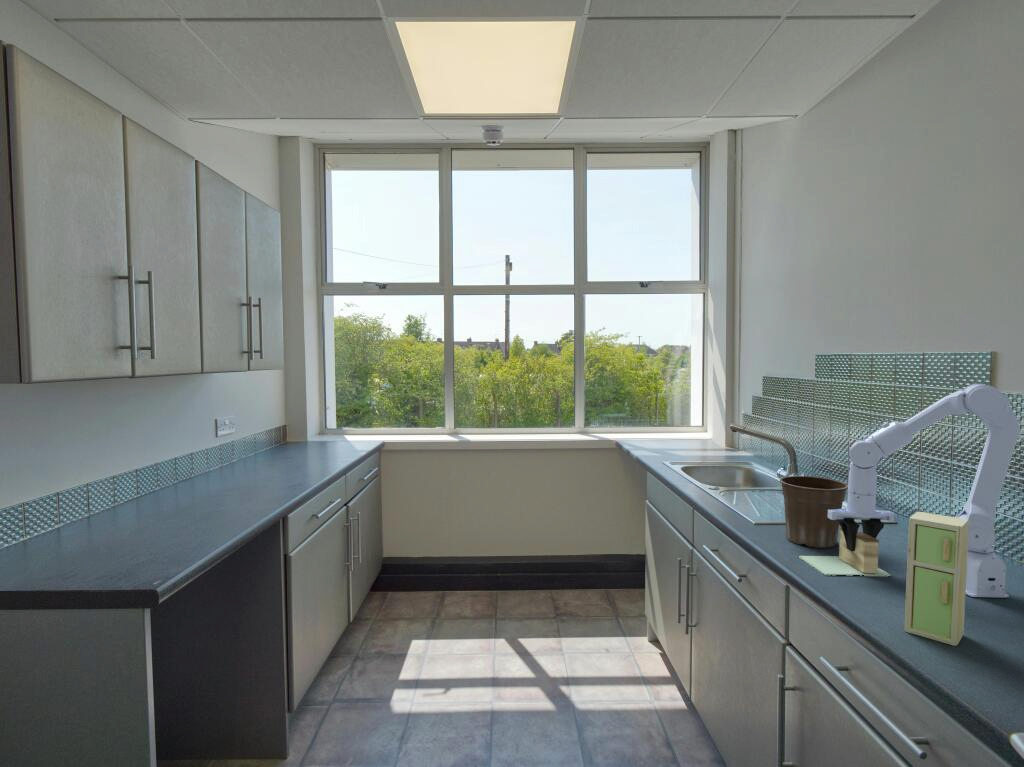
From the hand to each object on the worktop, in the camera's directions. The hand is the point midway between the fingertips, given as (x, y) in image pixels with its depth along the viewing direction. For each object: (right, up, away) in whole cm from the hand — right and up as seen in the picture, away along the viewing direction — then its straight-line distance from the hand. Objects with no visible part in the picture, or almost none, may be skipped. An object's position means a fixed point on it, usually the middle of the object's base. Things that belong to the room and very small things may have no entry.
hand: (858, 550), depth 141 cm
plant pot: (-1, -4, +20) cm, 21 cm away
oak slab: (0, -4, 0) cm, 4 cm away
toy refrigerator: (-6, -6, -33) cm, 34 cm away
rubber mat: (-3, -4, +1) cm, 5 cm away
